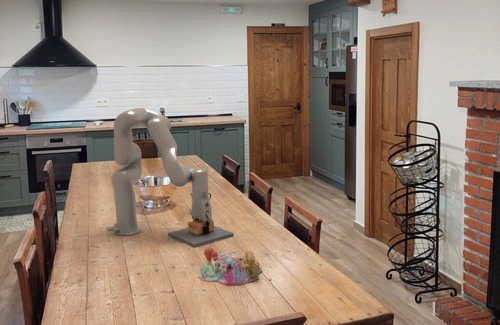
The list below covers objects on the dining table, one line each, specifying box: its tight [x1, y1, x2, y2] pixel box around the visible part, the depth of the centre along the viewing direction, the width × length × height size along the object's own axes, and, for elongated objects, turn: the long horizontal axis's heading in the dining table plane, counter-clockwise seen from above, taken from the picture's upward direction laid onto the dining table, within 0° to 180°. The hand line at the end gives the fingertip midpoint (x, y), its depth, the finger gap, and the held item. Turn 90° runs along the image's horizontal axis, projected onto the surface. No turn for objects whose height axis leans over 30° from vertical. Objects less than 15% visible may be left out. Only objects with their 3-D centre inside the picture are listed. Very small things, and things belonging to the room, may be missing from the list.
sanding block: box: [187, 218, 215, 236], centre depth 246 cm, size 10×6×5 cm, turn 131°
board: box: [167, 225, 235, 248], centre depth 246 cm, size 22×22×2 cm
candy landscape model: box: [197, 246, 263, 286], centre depth 202 cm, size 25×24×9 cm
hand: (201, 231), depth 247 cm, fingers closed on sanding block, 6 cm apart
